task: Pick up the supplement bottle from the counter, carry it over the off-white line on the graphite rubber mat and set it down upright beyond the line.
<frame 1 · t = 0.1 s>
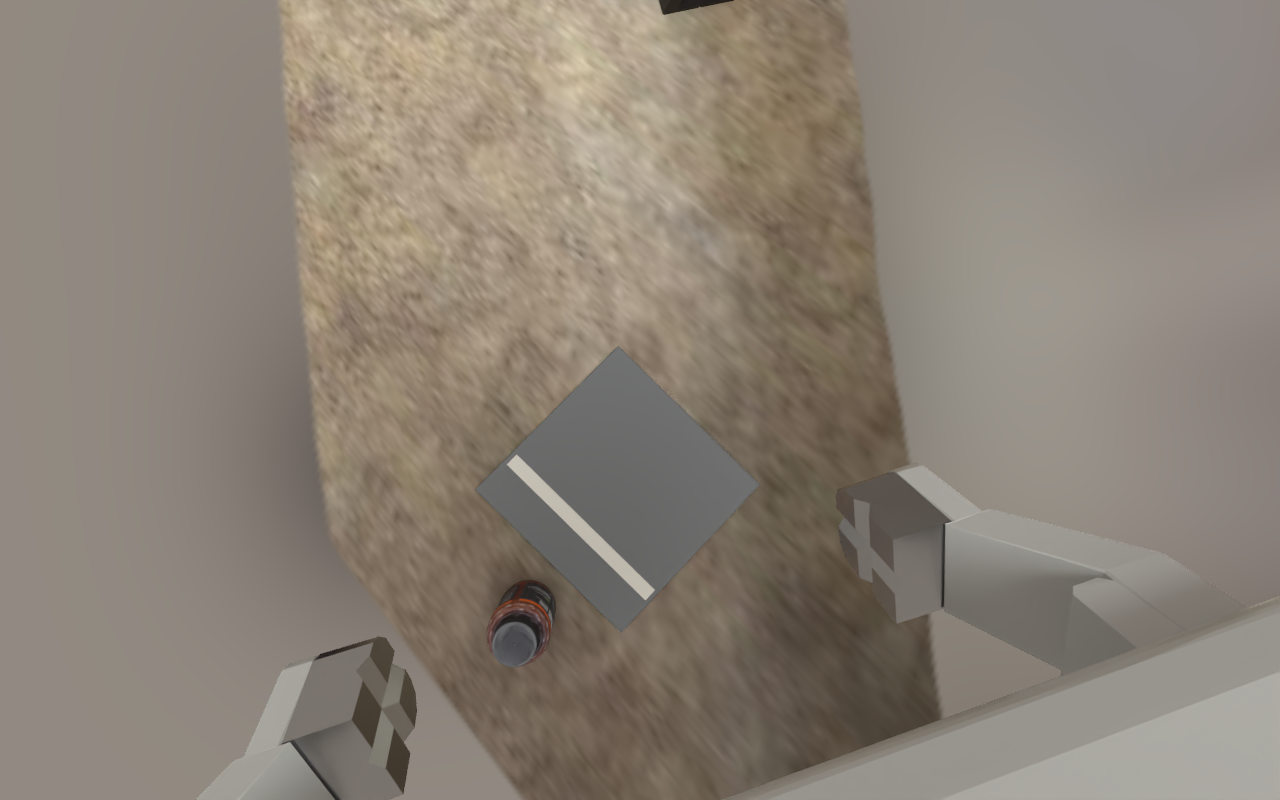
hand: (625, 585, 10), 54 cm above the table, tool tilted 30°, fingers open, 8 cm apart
supplement bottle: (529, 606, 63), on the table
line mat: (619, 486, 64), on the table
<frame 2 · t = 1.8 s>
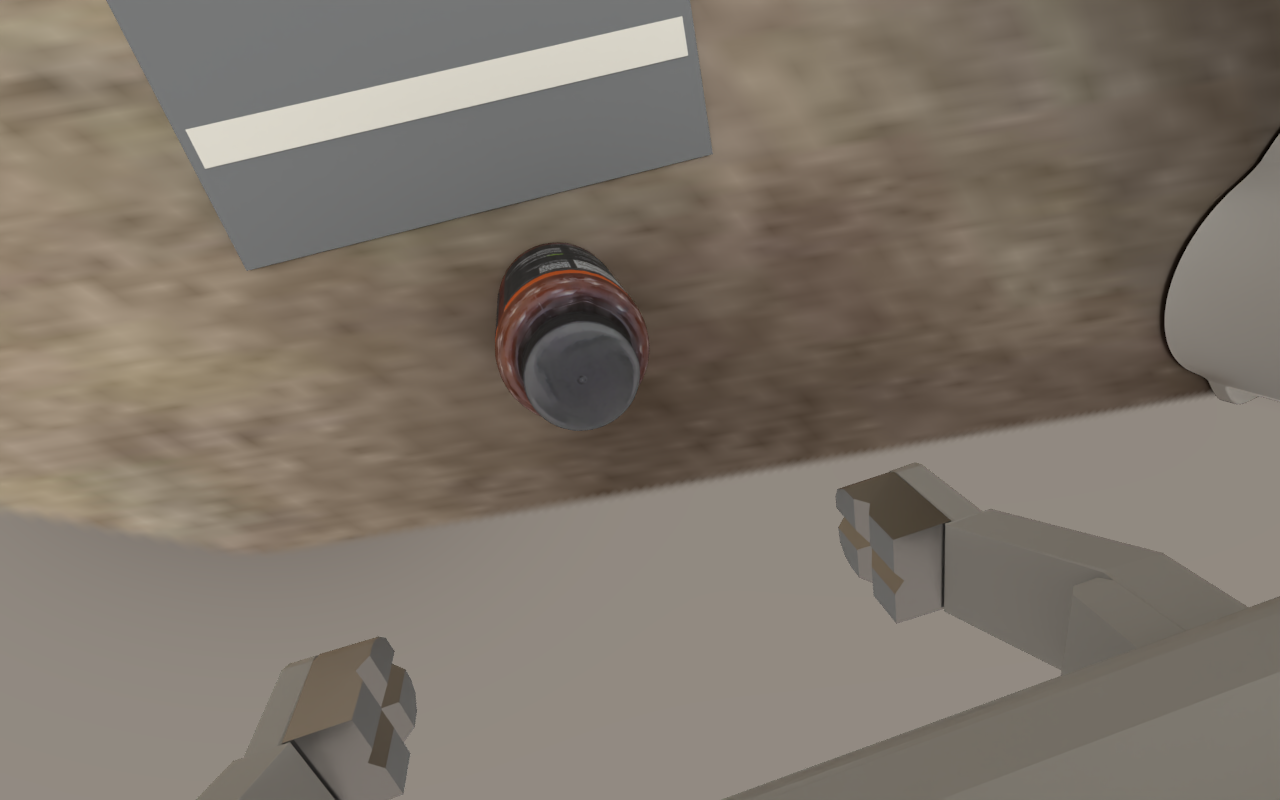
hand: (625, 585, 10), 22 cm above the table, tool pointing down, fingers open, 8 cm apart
supplement bottle: (558, 298, 30), on the table
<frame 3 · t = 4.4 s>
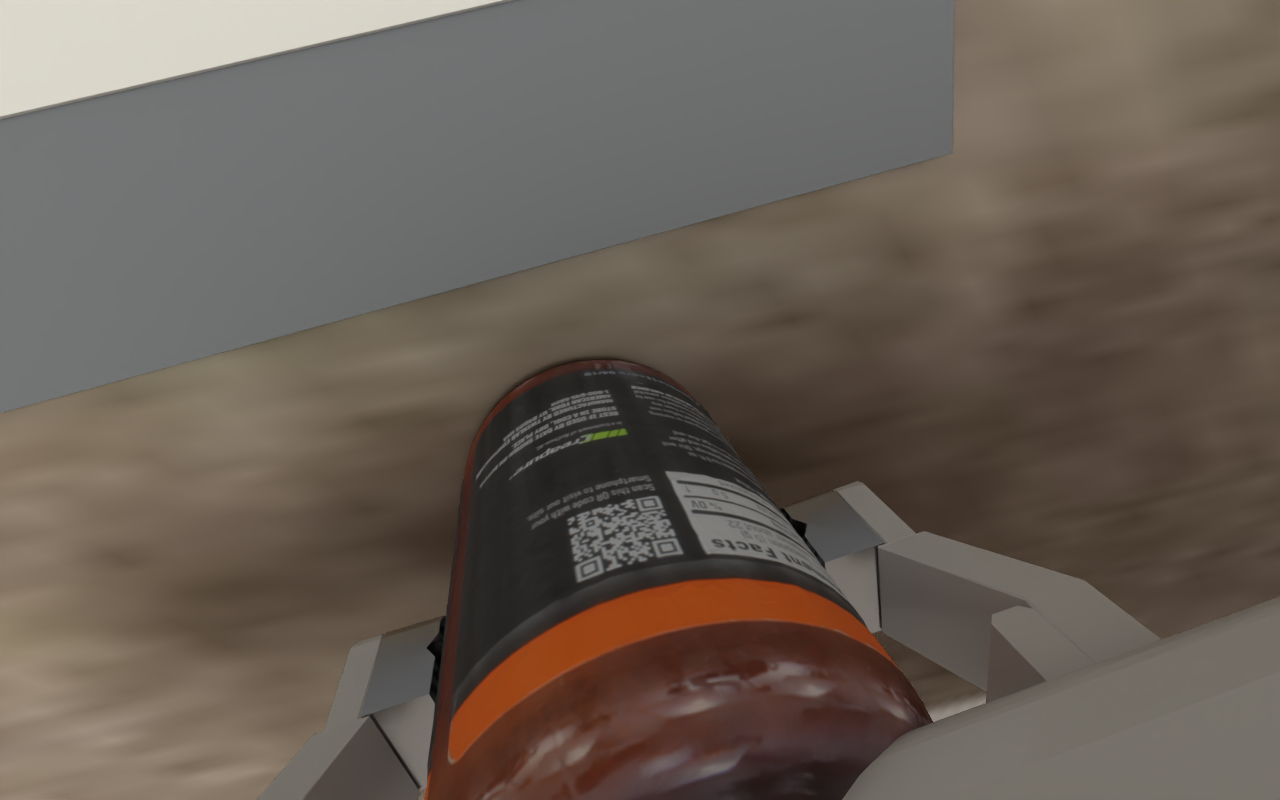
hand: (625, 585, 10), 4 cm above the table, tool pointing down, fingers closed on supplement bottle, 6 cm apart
supplement bottle: (594, 463, 14), on the table, touching gripper
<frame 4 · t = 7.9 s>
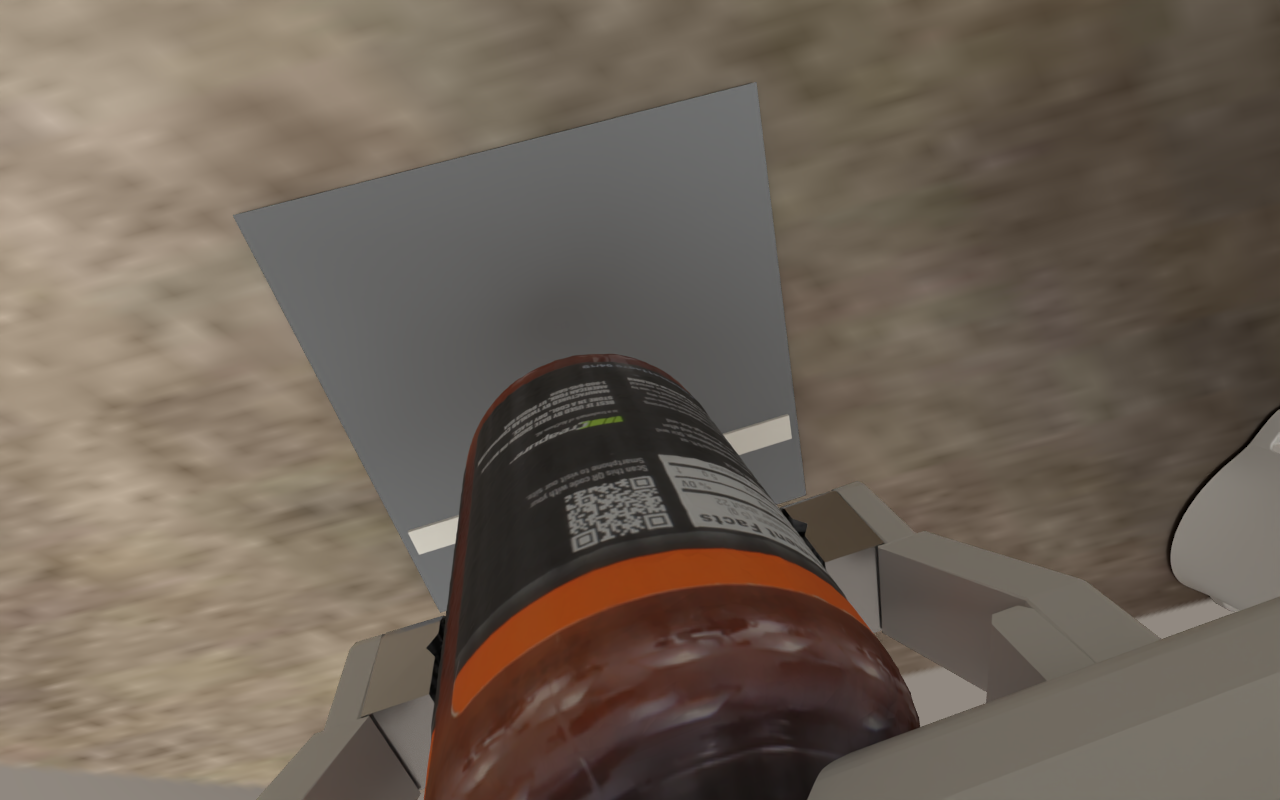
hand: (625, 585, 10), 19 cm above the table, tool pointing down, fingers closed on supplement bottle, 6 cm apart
supplement bottle: (591, 455, 15), point 14 cm above the table, touching gripper
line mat: (576, 380, 29), on the table
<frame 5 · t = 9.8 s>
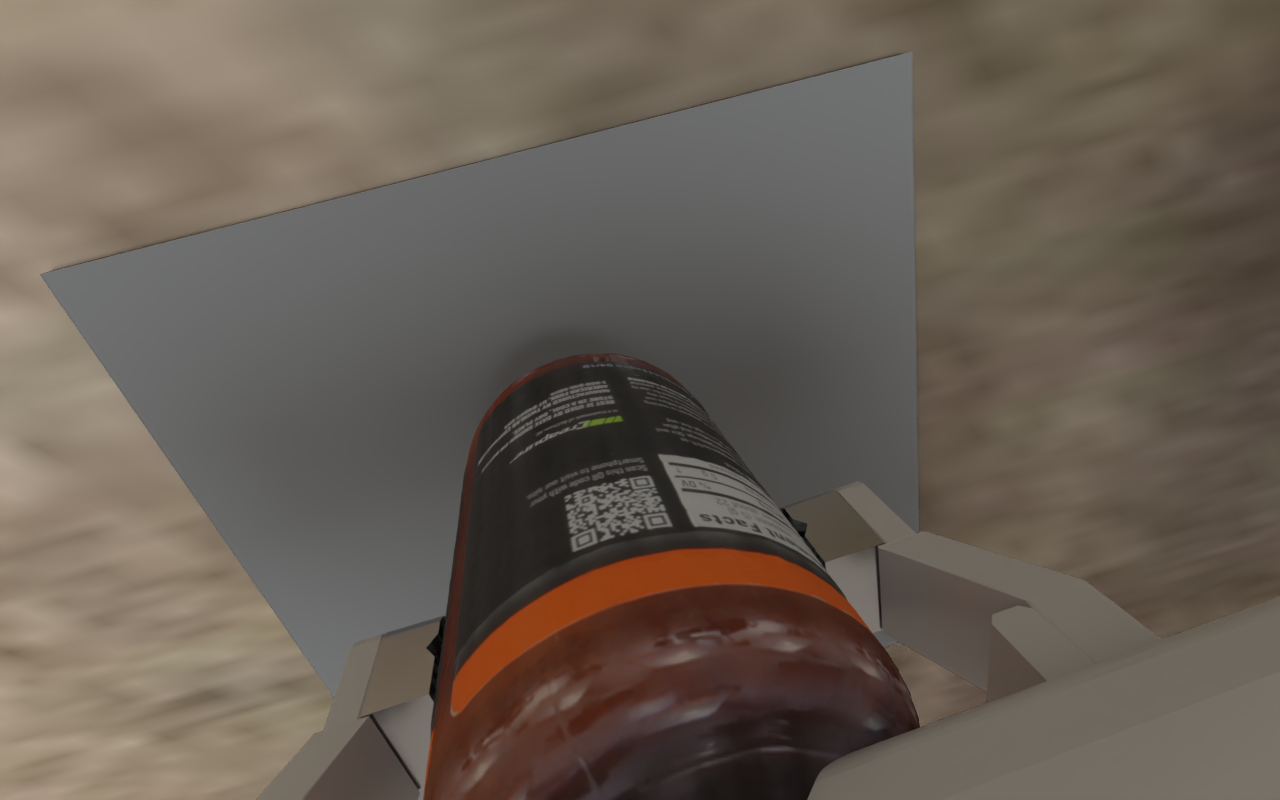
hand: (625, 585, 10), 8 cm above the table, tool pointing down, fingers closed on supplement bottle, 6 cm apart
supplement bottle: (592, 455, 15), point 4 cm above the table, touching gripper
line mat: (609, 501, 20), on the table
when the fingers open (5 cm above the table, at t = 11.4 s): supplement bottle stays where it is, resting on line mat.
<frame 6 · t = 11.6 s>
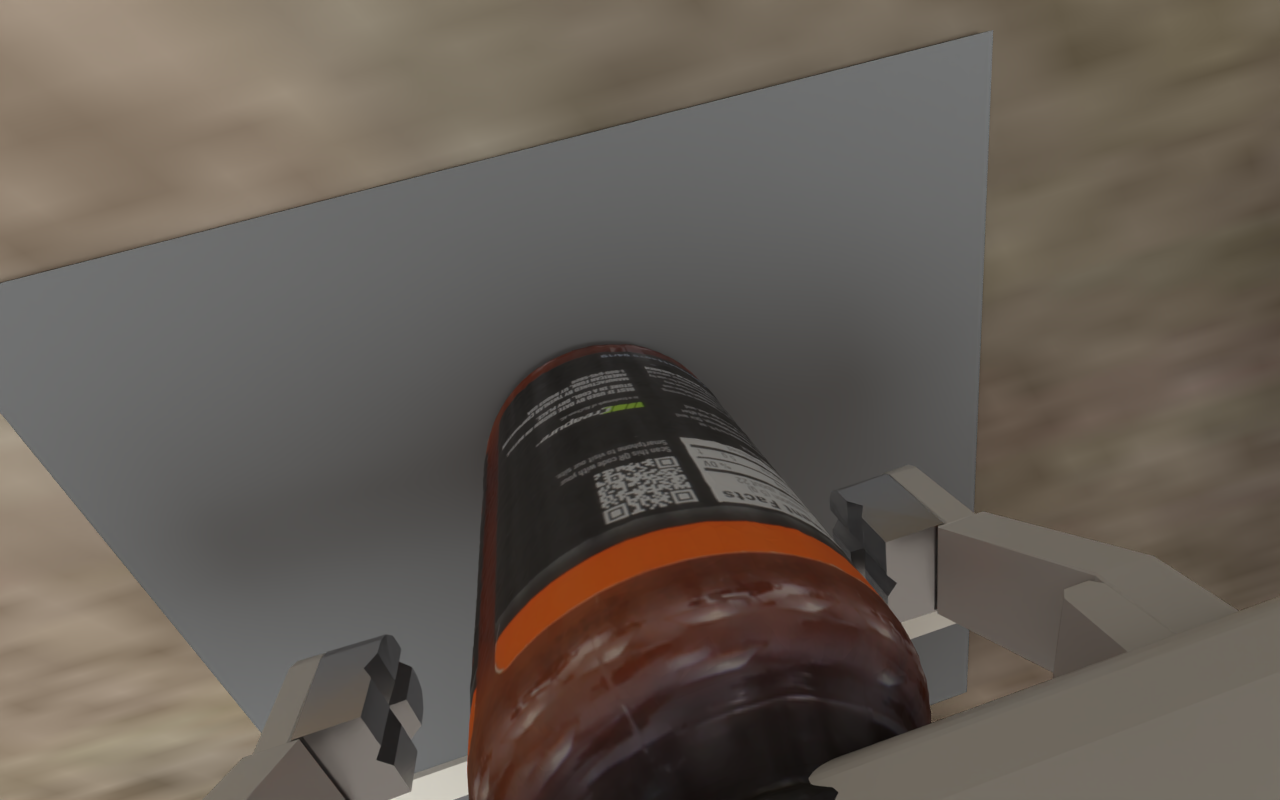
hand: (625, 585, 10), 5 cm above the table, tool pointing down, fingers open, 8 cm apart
supplement bottle: (605, 443, 15), resting on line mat
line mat: (622, 557, 17), on the table
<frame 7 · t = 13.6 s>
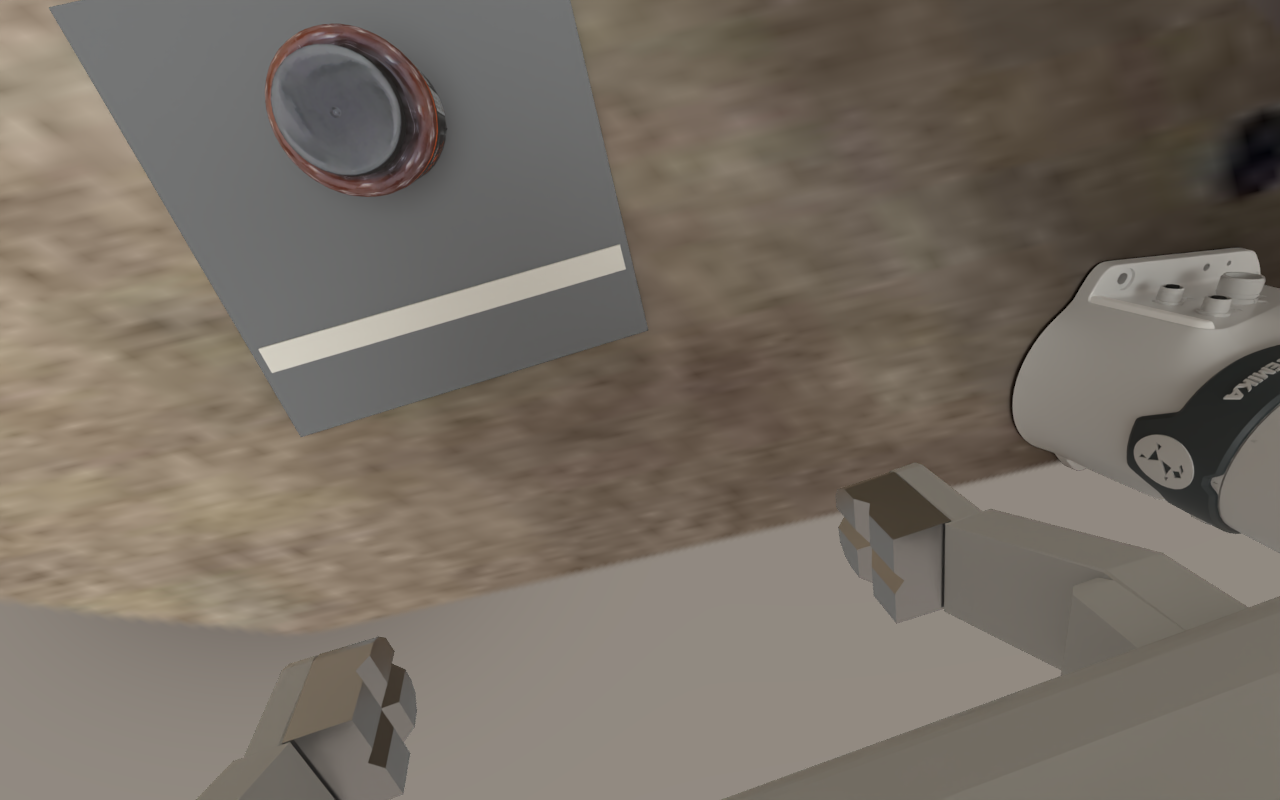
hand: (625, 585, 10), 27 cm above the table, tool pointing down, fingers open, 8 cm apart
supplement bottle: (387, 120, 29), resting on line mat
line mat: (409, 200, 31), on the table
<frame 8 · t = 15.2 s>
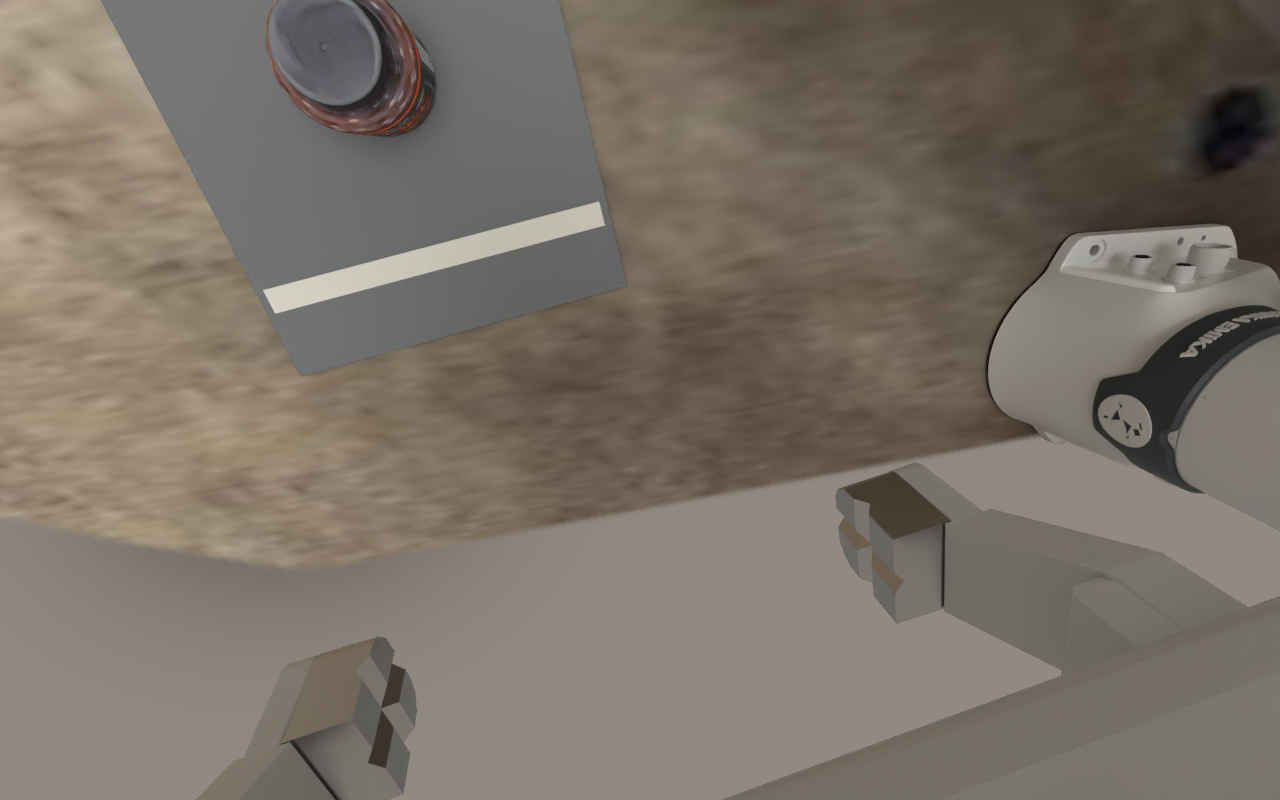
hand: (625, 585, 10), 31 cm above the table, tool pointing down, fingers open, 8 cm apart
supplement bottle: (383, 78, 32), resting on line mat
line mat: (403, 154, 34), on the table
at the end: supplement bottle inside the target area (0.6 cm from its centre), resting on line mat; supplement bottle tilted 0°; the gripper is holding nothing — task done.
